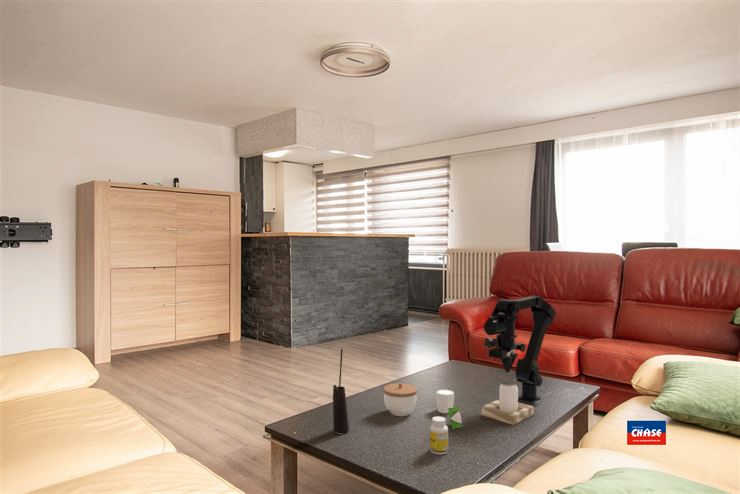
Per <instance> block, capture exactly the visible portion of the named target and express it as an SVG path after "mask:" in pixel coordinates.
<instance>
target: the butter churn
mask: <svg viewBox="0 0 740 494" xmlns="http://www.w3.org/2000/svg"><path fill="white" fill-rule="evenodd" d="M343 350H344V349H343V348H341V349H340V362H339V378H338V380H339V381H338V386H337V385H336V384H333V385H332V387H333V388H332V410H333V411H332V412H333V418H332V419H333V432H334V431H335V432H337V433H345V434H347V433H346V432H348V431H349V432H350V426H349V425H350V424H349V418H348V407H347V399H346V398H347V397H346V389H345V386H341V384H342V383H341V382H342V381H341V380H342V367H343V366H342V365H343ZM335 432H334V433H335ZM349 432H348V433H349Z"/></svg>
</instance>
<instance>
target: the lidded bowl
mask: <svg viewBox="0 0 740 494" xmlns="http://www.w3.org/2000/svg"><path fill="white" fill-rule="evenodd" d="M382 391H383V401H384V406H385V407H386V409H387V410H388V411H389V412H390V414H391V415H392V414H393V415H392V416H395V417H406V416H409V415H410V414H411V412H413V410H414V409H415V408H416V404H417V398H418V388H417V386H415V385H413V384H409V383H402V382H398V383H391V384H390V383H389V384H387V385H385V386H384V387H383V389H382Z"/></svg>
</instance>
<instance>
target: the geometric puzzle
mask: <svg viewBox="0 0 740 494" xmlns="http://www.w3.org/2000/svg"><path fill="white" fill-rule="evenodd" d="M448 410H449V413H448V414H449V418H448V420H450V422H449V421H447V420H446V422H447V424H448V423H449V424H450V425H451V426H450V425H449V424H448V425H449V426H450V427H451V429H452V430H453V429H457V428H463V421H462V417H465V418H464V419H466V418H467V416H466V414H465V413H464V412H463V411H462V414H463V415H461V411H460V409H459V406H455V407H454V406H453V408H448ZM444 417H447V414H445V416H444Z"/></svg>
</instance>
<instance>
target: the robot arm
mask: <svg viewBox="0 0 740 494" xmlns="http://www.w3.org/2000/svg"><path fill="white" fill-rule="evenodd" d="M526 309H529V311H530V312H531V313H532V321H533V328H532V330H531V334H530V337H529V341H528V344H527V347H526V344H524V343H521V342H520V343H519V342H516V338H518V334H515V333H516V330H515V327H516V325H515V321H516V320H517V321H518V319H519V317H518V316H516V315H518V314H519V313H520V311H522V310H526ZM556 313H557V312H556V310H555V308H554V307H553V306H552V305H551V304H550V303H549V302H547V301H546V300H544V298H543V297H542V296H540V295H529V296H526V297H520V298H516V299H498V301H497V302H496V304H495V307H494V308H493V310H492V313H491V315H490V316H488V317H487V320H486V321H485V322H484V324H483V330H484V332H485V334H487V335H488V336H495V335H496V338H491V337H486V338H484V342H483V343H484V346H485V347H486V348H487V357H490V358H492V359H493V358H494V359H500V361H501V362H502V365H503V368H504V372H505V373H510V372H511V369H512V367H513V365H514V363H515V361H516V360H517V362H516V366H515V367H514V368H515V370H514V373H515V377H516V381H517V382H518V383H521V395H518V399H520V400H525V401H529V402H532V403H533V402H536V401H537V400H539V399H541V396H538V387H541V386H542V385H543V382H544V379H543V378H542V376H541V375H540V374H539V371H540V368H539V364H538V359H539V356H540V351H541V348H542V345H543V342H544V338H545V334H546V331H547V329H548V328H549V327H550V326H551V325H552V324H553V323H554V320H555V318H556ZM488 349H489V350H488ZM517 350H518V351H520V353H521V352H522V353H523V352H525V355H524V357H522V358H518V359H517V357H518V356H519V353H516V352H515V351H517ZM517 382H516V383H517Z"/></svg>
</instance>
